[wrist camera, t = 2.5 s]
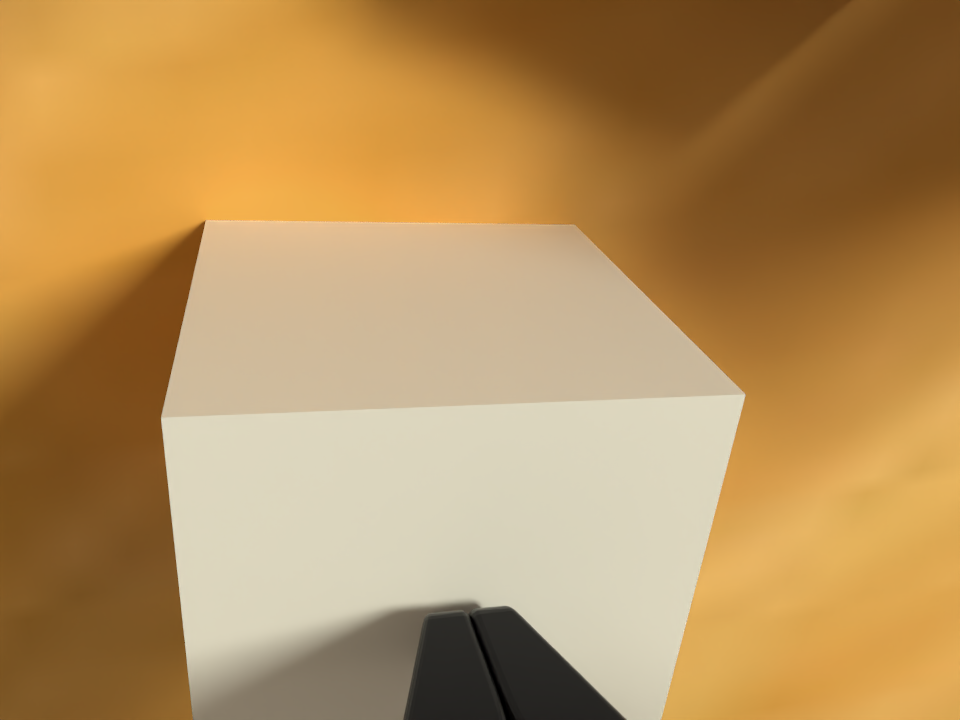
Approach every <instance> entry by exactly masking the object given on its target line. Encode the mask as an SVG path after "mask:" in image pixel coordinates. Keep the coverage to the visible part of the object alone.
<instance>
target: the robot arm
mask: <svg viewBox="0 0 960 720" xmlns="http://www.w3.org/2000/svg"><path fill="white" fill-rule="evenodd" d="M403 720H626V719H625V718H624V717H623V716H622V715H621V714H620V713H619V712H618V711H617V710H616V709H615V708H614V707H613V706H612V705H611V704H610V703H609V702H608V701H607V700H606V699H605V698H604V697H603V696H602V695H601V694H600V693H599V692H598V691H597V690H596V689H595V688H594V687H593V686H592V685H591V684H590V683H589V682H588V681H587V680H586V679H585V678H584V677H583V676H582V675H581V674H580V673H579V672H578V671H577V670H576V669H575V668H574V667H573V666H572V665H571V664H570V663H569V662H568V661H567V660H566V659H565V658H564V657H562V656H561V655H560V654H559V653H558V652H557V651H556V650H555V649H554V648H553V647H552V646H551V645H550V644H549V643H548V642H547V641H546V640H545V639H544V638H543V637H542V636H541V635H540V634H539V633H538V632H537V631H536V630H535V629H534V628H533V627H532V626H531V625H530V624H529V623H528V622H527V621H526V620H525V619H524V618H523V617H522V616H521V615H520V614H519V613H518V612H517V611H516V610H514V609H513V608H511V607H509V606H497V607H487V608H476V609H473V610H472V611H470V612H469V614H467V613H466V612H465V611H463V610H457V611H447V612H437V613H430V614H427V615H426V616H425V618H424V620H423V624H422V629H421V634H420V639H419V644H418V649H417V654H416V659H415V664H414V669H413V674H412V679H411V684H410V689H409V693H408V698H407V703H406V708H405V713H404V718H403Z"/></svg>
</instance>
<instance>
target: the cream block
mask: <svg viewBox="0 0 960 720" xmlns="http://www.w3.org/2000/svg"><path fill="white" fill-rule="evenodd" d="M745 395H746V394H745V393H744V392H743V391H742V390H741V389H740V388H739V387H738V386H737V385H736V384H735V383H734V382H733V381H732V380H731V379H730V378H729V377H728V376H727V375H726V374H725V373H724V372H723V371H722V370H721V369H720V368H719V367H718V366H717V365H716V364H715V363H714V362H713V361H712V360H711V359H710V358H709V357H707V356H706V355H705V354H704V353H703V352H702V351H701V350H700V349H699V348H698V347H697V346H696V345H695V344H694V343H693V342H692V341H691V340H690V339H689V338H688V337H687V336H686V335H685V334H684V333H683V332H682V331H681V330H680V329H679V328H678V327H677V326H676V325H675V324H674V323H673V322H672V321H671V320H670V319H669V318H668V317H667V316H666V315H665V314H664V313H663V312H662V311H661V310H660V309H659V308H658V307H657V306H656V305H655V304H654V303H653V302H652V301H651V300H650V299H649V298H648V297H647V296H646V295H645V294H644V293H643V292H642V291H641V290H640V289H639V288H638V287H637V286H636V285H635V284H634V283H633V282H632V281H631V280H630V279H629V278H628V277H627V276H626V275H625V274H624V273H623V272H622V271H621V270H620V269H619V268H618V267H617V266H616V265H615V264H614V263H613V262H612V261H611V260H610V259H609V258H608V257H607V256H606V255H605V254H604V253H603V252H602V251H601V250H600V249H599V248H598V247H597V246H596V245H595V244H594V243H593V242H592V241H591V240H590V239H589V238H588V237H587V236H586V235H585V234H584V233H583V232H582V231H581V230H580V229H579V228H578V227H577V226H576V225H570V224H487V223H403V222H320V221H237V220H206V222H205V226H204V231H203V235H202V240H201V244H200V248H199V253H198V257H197V262H196V266H195V270H194V275H193V279H192V284H191V288H190V292H189V297H188V301H187V306H186V310H185V314H184V319H183V323H182V328H181V332H180V336H179V341H178V345H177V349H176V354H175V358H174V363H173V367H172V371H171V376H170V380H169V385H168V389H167V393H166V398H165V402H164V407H163V411H162V415H161V423H162V432H163V441H164V451H165V460H166V470H167V479H168V488H169V498H170V507H171V517H172V526H173V536H174V545H175V554H176V564H177V573H178V583H179V592H180V601H181V611H182V620H183V630H184V639H185V649H186V658H187V667H188V677H189V686H190V696H191V705H192V714H193V720H403V718H404V713H405V708H406V703H407V698H408V693H409V689H410V684H411V679H412V674H413V669H414V664H415V659H416V654H417V649H418V644H419V639H420V634H421V629H422V624H423V620H424V618H425V616H426V615H427V614H430V613H437V612H447V611H457V610H463V611H465V612H466V613H467V614H469V612H470V611H472V610H473V609H476V608H487V607H497V606H509V607H511V608H513V609H514V610H516V611H517V612H518V613H519V614H520V615H521V616H522V617H523V618H524V619H525V620H526V621H527V622H528V623H529V624H530V625H531V626H532V627H533V628H534V629H535V630H536V631H537V632H538V633H539V634H540V635H541V636H542V637H543V638H544V639H545V640H546V641H547V642H548V643H549V644H550V645H551V646H552V647H553V648H554V649H555V650H556V651H557V652H558V653H559V654H560V655H561V656H562V657H564V658H565V659H566V660H567V661H568V662H569V663H570V664H571V665H572V666H573V667H574V668H575V669H576V670H577V671H578V672H579V673H580V674H581V675H582V676H583V677H584V678H585V679H586V680H587V681H588V682H589V683H590V684H591V685H592V686H593V687H594V688H595V689H596V690H597V691H598V692H599V693H600V694H601V695H602V696H603V697H604V698H605V699H606V700H607V701H608V702H609V703H610V704H611V705H612V706H613V707H614V708H615V709H616V710H617V711H618V712H619V713H620V714H621V715H622V716H623V717H624V718H625V719H626V720H661V718H662V714H663V710H664V706H665V703H666V699H667V695H668V691H669V687H670V683H671V679H672V676H673V672H674V668H675V664H676V660H677V656H678V653H679V649H680V645H681V641H682V637H683V633H684V630H685V626H686V622H687V618H688V614H689V610H690V606H691V603H692V599H693V595H694V591H695V587H696V583H697V580H698V576H699V572H700V568H701V564H702V560H703V557H704V553H705V549H706V545H707V541H708V537H709V534H710V530H711V526H712V522H713V518H714V514H715V510H716V507H717V503H718V499H719V495H720V491H721V487H722V484H723V480H724V476H725V472H726V468H727V464H728V461H729V457H730V453H731V449H732V445H733V441H734V437H735V434H736V430H737V426H738V422H739V418H740V414H741V411H742V407H743V403H744V399H745Z"/></svg>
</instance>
